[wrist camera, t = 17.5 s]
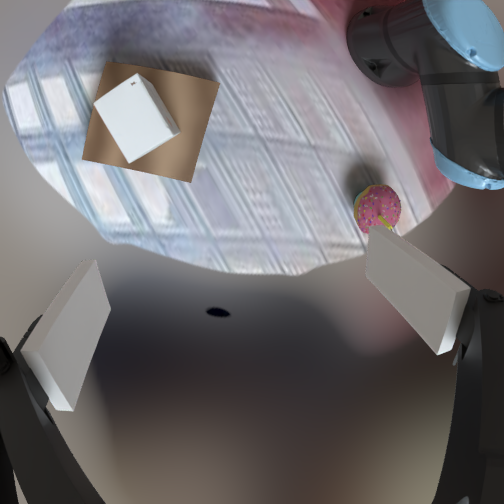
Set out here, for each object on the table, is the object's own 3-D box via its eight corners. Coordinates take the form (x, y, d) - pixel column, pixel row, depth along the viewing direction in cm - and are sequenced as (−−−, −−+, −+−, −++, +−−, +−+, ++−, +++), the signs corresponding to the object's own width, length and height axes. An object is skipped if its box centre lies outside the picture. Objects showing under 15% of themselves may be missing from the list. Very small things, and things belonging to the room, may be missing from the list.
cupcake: (351, 233, 54) (385, 262, 43) (337, 190, 50) (371, 210, 39) (390, 214, 53) (429, 237, 42) (378, 171, 50) (420, 186, 39)
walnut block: (218, 88, 42) (220, 83, 36) (192, 175, 46) (191, 182, 41) (117, 68, 38) (106, 61, 32) (95, 154, 43) (81, 159, 37)
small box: (117, 106, 35) (90, 102, 26) (153, 83, 35) (136, 70, 25) (145, 155, 39) (127, 165, 29) (182, 133, 38) (174, 135, 29)
